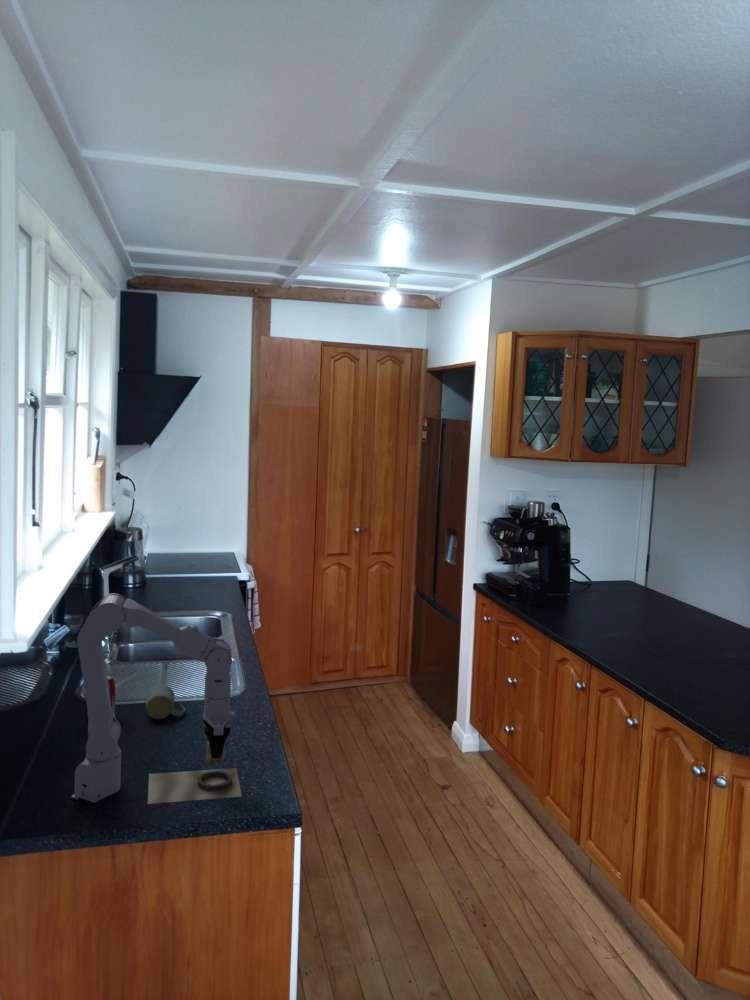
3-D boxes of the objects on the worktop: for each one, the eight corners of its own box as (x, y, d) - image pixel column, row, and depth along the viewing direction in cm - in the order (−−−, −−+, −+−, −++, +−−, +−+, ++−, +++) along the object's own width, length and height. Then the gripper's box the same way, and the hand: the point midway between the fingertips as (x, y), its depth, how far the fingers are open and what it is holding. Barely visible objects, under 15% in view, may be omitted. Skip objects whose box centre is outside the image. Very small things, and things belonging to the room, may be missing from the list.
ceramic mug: (145, 721, 211) (146, 694, 210) (146, 710, 219) (147, 683, 218) (185, 720, 214) (186, 693, 213) (184, 709, 222) (185, 683, 221)
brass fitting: (224, 762, 174) (225, 745, 174) (206, 763, 173) (207, 746, 173) (223, 754, 178) (224, 737, 178) (205, 755, 177) (206, 738, 177)
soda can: (86, 725, 207) (86, 681, 205) (88, 715, 213) (89, 673, 212) (114, 723, 209) (114, 680, 207) (115, 713, 215) (116, 672, 214)
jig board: (147, 808, 166) (147, 798, 166) (149, 778, 179) (149, 769, 179) (241, 800, 171) (242, 791, 171) (236, 772, 184) (236, 763, 184)
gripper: (238, 706, 168) (236, 766, 170) (232, 683, 182) (231, 738, 183) (205, 707, 166) (203, 768, 168) (202, 684, 180) (200, 740, 182)
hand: (215, 753), depth 175 cm, fingers closed on brass fitting, 4 cm apart
